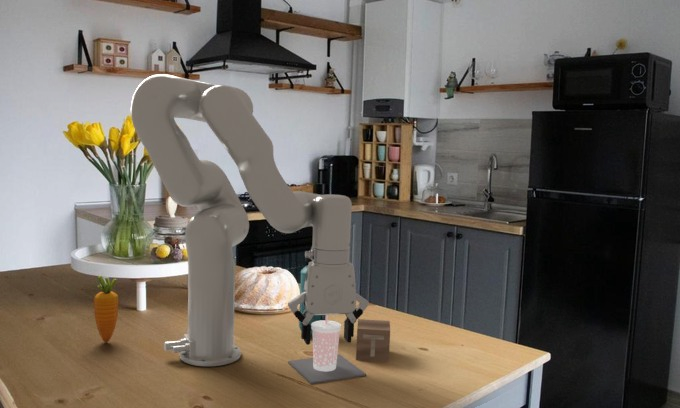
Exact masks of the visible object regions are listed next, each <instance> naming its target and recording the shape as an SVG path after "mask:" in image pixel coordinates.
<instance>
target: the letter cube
mask: <svg viewBox="0 0 680 408" xmlns="http://www.w3.org/2000/svg"><path fill="white" fill-rule="evenodd" d="M390 322H391V321H390V320H382V319H380V320H378V319H364V318H363V319H361V318H358V319H357V328H356V330H357V331H356V346H355V347H356V349H355V350H356V351H355V353H356V354H355V361H362V362H363V361H365V362H382V363H383V362H384V363H389V361H390V342H391V323H390Z"/></svg>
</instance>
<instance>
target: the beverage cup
mask: <svg viewBox="0 0 680 408" xmlns="http://www.w3.org/2000/svg"><path fill="white" fill-rule="evenodd" d="M311 326H312V327H311V328H312V330H313V333H312V358H313V367H314V369H316V370H318V371H324V372H327V371H333V370H335V369H336V362H337V355H338V351H339V343H340V342H339V341H340V335H341V334H340V332H341V331H342V324H341V323H340V322H338V321H334V320H329V315H326V318H325V320H320V321H315V322H313V323H312V324H311Z"/></svg>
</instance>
